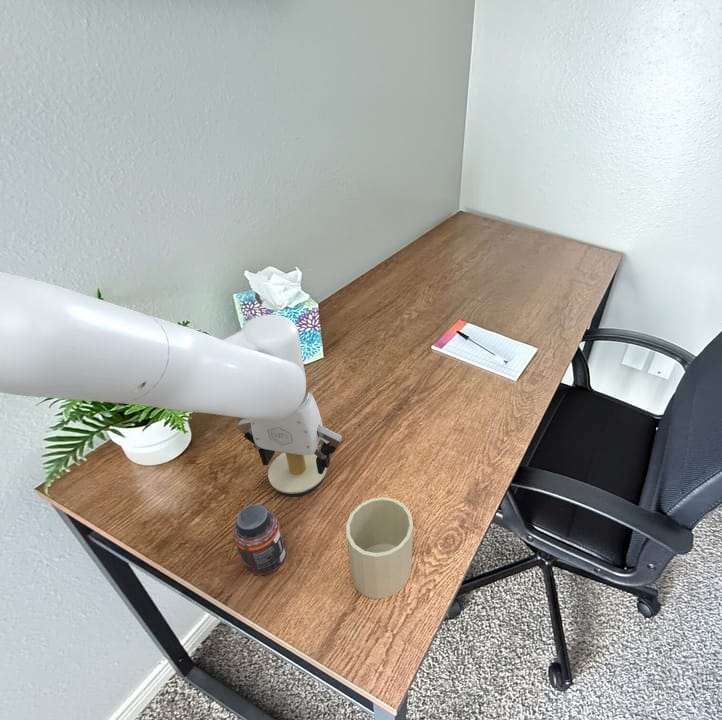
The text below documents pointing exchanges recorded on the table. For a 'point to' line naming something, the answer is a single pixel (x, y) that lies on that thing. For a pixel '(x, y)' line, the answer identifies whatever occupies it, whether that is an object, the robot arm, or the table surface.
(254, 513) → the supplement bottle
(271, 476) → the tin lid
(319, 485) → the mat
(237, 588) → the table surface
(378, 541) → the tin
